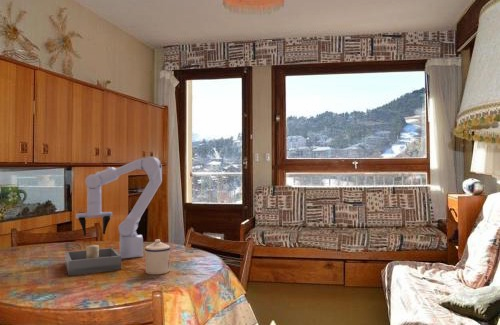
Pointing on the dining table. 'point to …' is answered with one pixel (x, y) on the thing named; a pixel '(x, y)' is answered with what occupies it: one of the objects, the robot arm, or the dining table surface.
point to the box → (92, 262)
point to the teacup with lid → (157, 258)
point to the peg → (92, 251)
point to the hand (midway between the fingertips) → (94, 234)
